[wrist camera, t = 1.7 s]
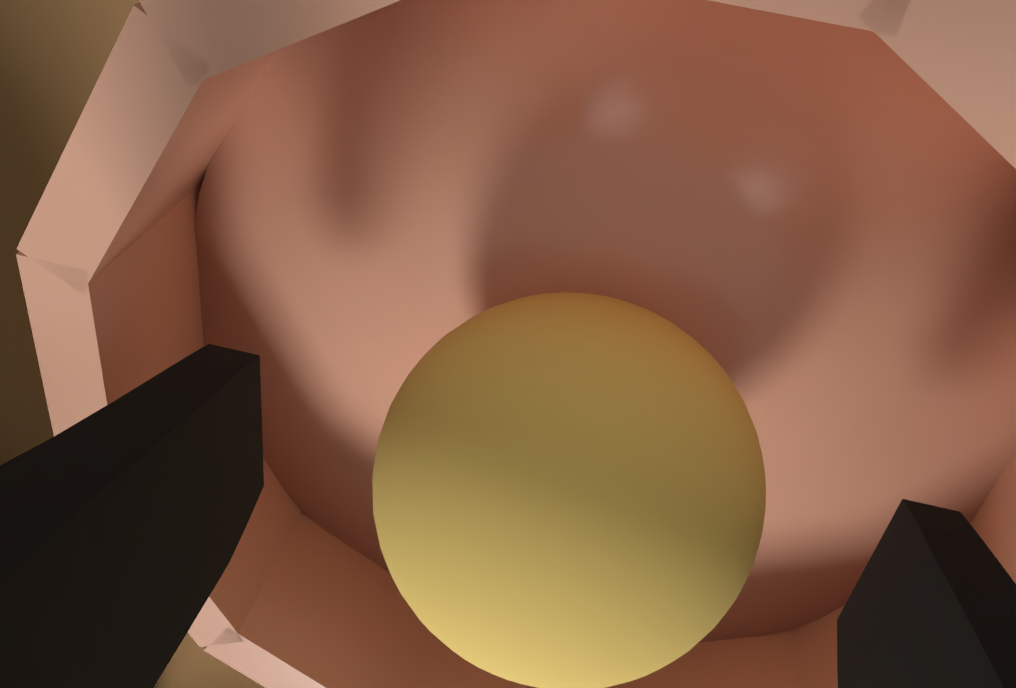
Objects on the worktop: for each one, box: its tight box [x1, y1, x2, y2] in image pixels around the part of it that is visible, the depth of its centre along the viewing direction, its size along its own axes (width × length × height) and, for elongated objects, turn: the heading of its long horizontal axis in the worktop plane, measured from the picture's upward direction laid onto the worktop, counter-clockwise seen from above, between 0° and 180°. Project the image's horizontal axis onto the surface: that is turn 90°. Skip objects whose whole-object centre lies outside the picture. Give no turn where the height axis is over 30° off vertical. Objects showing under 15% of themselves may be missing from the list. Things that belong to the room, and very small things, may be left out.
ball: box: [372, 292, 766, 688], centre depth 10 cm, size 4×4×4 cm
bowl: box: [16, 0, 1016, 688], centre depth 12 cm, size 13×13×3 cm
